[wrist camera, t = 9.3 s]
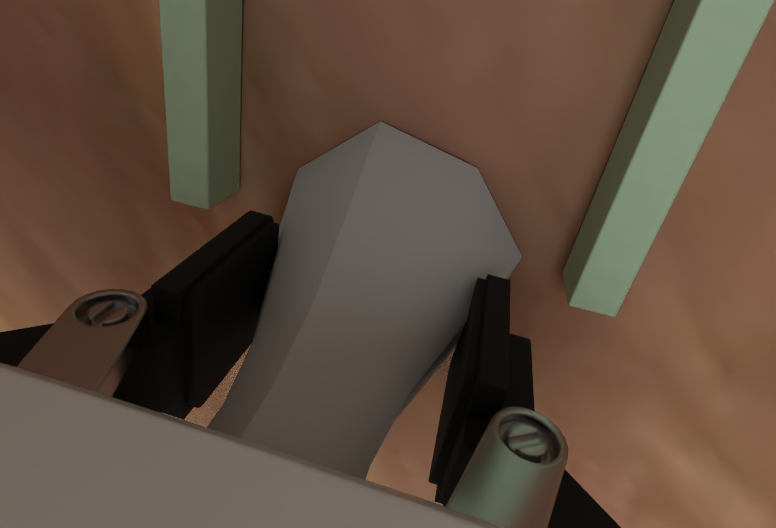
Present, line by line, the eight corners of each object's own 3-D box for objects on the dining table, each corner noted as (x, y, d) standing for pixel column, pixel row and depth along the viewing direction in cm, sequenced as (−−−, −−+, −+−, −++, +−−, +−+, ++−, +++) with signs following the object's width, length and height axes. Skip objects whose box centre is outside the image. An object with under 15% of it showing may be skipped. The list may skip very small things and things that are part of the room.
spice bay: (204, 181, 15) (169, 200, 14) (193, -346, 10) (132, -415, 8) (603, 283, 14) (615, 318, 12) (860, -265, 8) (941, -329, 7)
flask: (241, 242, 16) (-81, 517, 7) (379, 68, 12) (75, 200, 4) (401, 378, 17) (286, 756, 8) (569, 254, 14) (667, 681, 5)
